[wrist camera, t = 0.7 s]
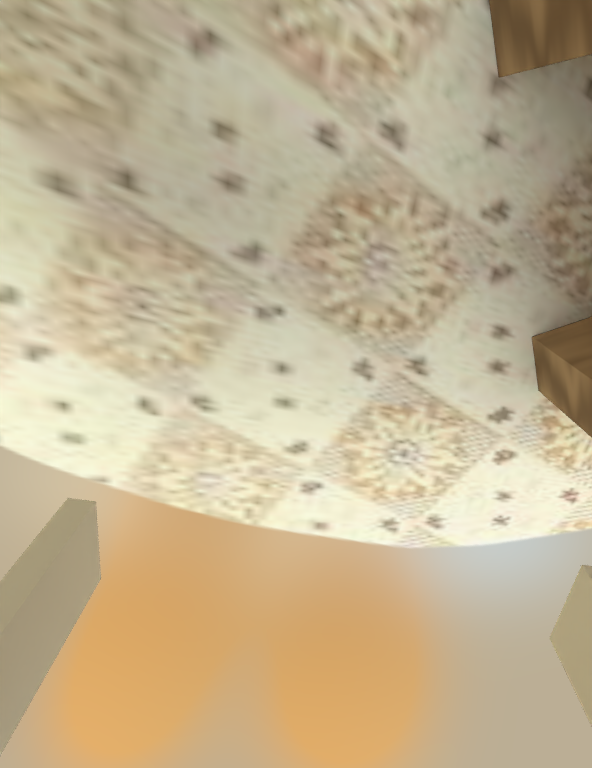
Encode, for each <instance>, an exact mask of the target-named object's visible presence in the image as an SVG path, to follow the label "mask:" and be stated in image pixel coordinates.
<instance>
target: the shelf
mask: <svg viewBox="0 0 592 768" xmlns="http://www.w3.org/2000/svg"><path fill="white" fill-rule="evenodd" d="M489 3H490V11H491V19H492V27H493V35H494V43H495V50H496V58H497V66H498V74H499V77H503V76H507V75H511V74H515V73H519V72H523V71H527V70H531V69H535V68H539V67H543V66H547V65H550V64H554V63H558V62H562V61H566V60H570V59H574V58H578V57H582V56H586V55H590V54H592V0H489ZM532 342H533V350H534V357H535V365H536V373H537V381H538V389H539V391H540V392H541V393H542V394H543V395H544V396H545V397H546V398H548V399H549V400H550V401H551V402H552V403H553V404H554V405H556V406H557V407H558V408H559V409H560V410H561V411H562V412H563V413H565V414H566V415H567V416H568V417H569V418H570V419H571V420H572V421H574V422H575V423H576V424H577V425H578V426H579V427H580V428H582V429H583V430H584V431H585V432H586V433H587V434H588V435H589V436H591V437H592V317H590V318H587V319H584V320H581V321H578V322H575V323H572V324H569V325H566V326H563V327H560V328H557V329H554V330H551V331H548V332H545V333H542V334H539V335H537V336H534V337H532Z"/></svg>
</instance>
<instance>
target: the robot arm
mask: <svg viewBox="0 0 592 768" xmlns="http://www.w3.org/2000/svg"><path fill="white" fill-rule="evenodd" d="M100 579H101V574H100V558H99V542H98V526H97V512H96V502H94V501H87V500H79V499H72V498H68V499H67V500H66V501H65V502H64V504H63V505H62V506H61V507H60V509H59V510H58V511H57V512H56V514H55V515H54V516H53V517H52V518H51V520H50V521H49V522H48V523H47V525H46V526H45V527H44V528H43V529H42V531H41V532H40V533H39V534H38V536H37V537H36V538H35V539H34V540H33V542H32V543H31V544H30V545H29V547H28V548H27V549H26V550H25V552H24V553H23V554H22V556H21V557H20V558H19V559H18V560H17V561H16V563H15V564H14V565H13V566H12V568H11V569H10V570H9V571H8V573H7V574H6V575H5V576H4V578H3V579H2V580H1V581H0V755H1V754H2V752H3V750H4V748H5V747H6V745H7V743H8V741H9V739H10V738H11V736H12V734H13V733H14V731H15V729H16V727H17V726H18V724H19V722H20V720H21V718H22V717H23V715H24V713H25V711H26V710H27V708H28V706H29V704H30V703H31V701H32V699H33V697H34V696H35V694H36V692H37V690H38V689H39V687H40V685H41V683H42V682H43V680H44V678H45V676H46V674H47V673H48V671H49V669H50V667H51V666H52V664H53V662H54V660H55V659H56V657H57V655H58V653H59V652H60V650H61V648H62V646H63V645H64V643H65V641H66V639H67V637H68V636H69V634H70V632H71V630H72V629H73V627H74V625H75V623H76V622H77V620H78V618H79V616H80V614H81V613H82V611H83V609H84V607H85V606H86V604H87V602H88V600H89V599H90V597H91V595H92V593H93V592H94V590H95V588H96V586H97V585H98V583H99V581H100ZM550 640H551V642H552V644H553V647H554V649H555V651H556V653H557V655H558V657H559V659H560V661H561V663H562V665H563V667H564V670H565V672H566V674H567V676H568V678H569V680H570V682H571V684H572V686H573V688H574V690H575V693H576V695H577V697H578V699H579V701H580V703H581V705H582V707H583V710H584V712H585V714H586V716H587V718H588V720H589V722H590V724H591V726H592V566H586V565H582V566H581V568H580V571H579V573H578V575H577V577H576V579H575V582H574V584H573V586H572V588H571V591H570V593H569V595H568V598H567V600H566V602H565V604H564V607H563V609H562V611H561V613H560V615H559V618H558V620H557V622H556V625H555V627H554V629H553V631H552V633H551V636H550Z"/></svg>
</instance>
